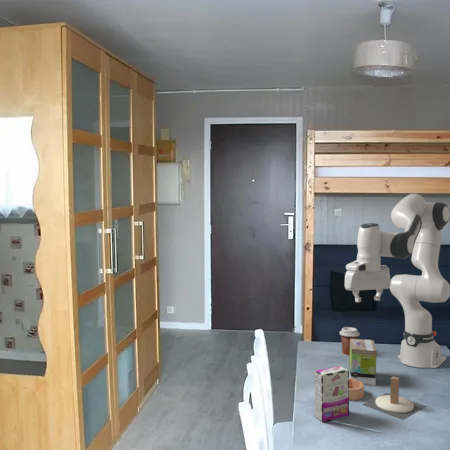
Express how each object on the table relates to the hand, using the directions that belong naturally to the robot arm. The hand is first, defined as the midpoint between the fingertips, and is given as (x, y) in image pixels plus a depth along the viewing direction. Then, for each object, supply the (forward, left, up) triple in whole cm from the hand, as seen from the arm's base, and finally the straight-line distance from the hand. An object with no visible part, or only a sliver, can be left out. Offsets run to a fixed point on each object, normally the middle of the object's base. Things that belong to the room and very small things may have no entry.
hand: (367, 301), depth 198 cm
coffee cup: (-28, -28, -35) cm, 53 cm away
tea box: (-6, -6, -35) cm, 36 cm away
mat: (+8, +17, -34) cm, 39 cm away
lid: (+8, +17, -34) cm, 38 cm away
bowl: (+12, 0, -34) cm, 36 cm away
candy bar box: (+31, +7, -35) cm, 47 cm away
